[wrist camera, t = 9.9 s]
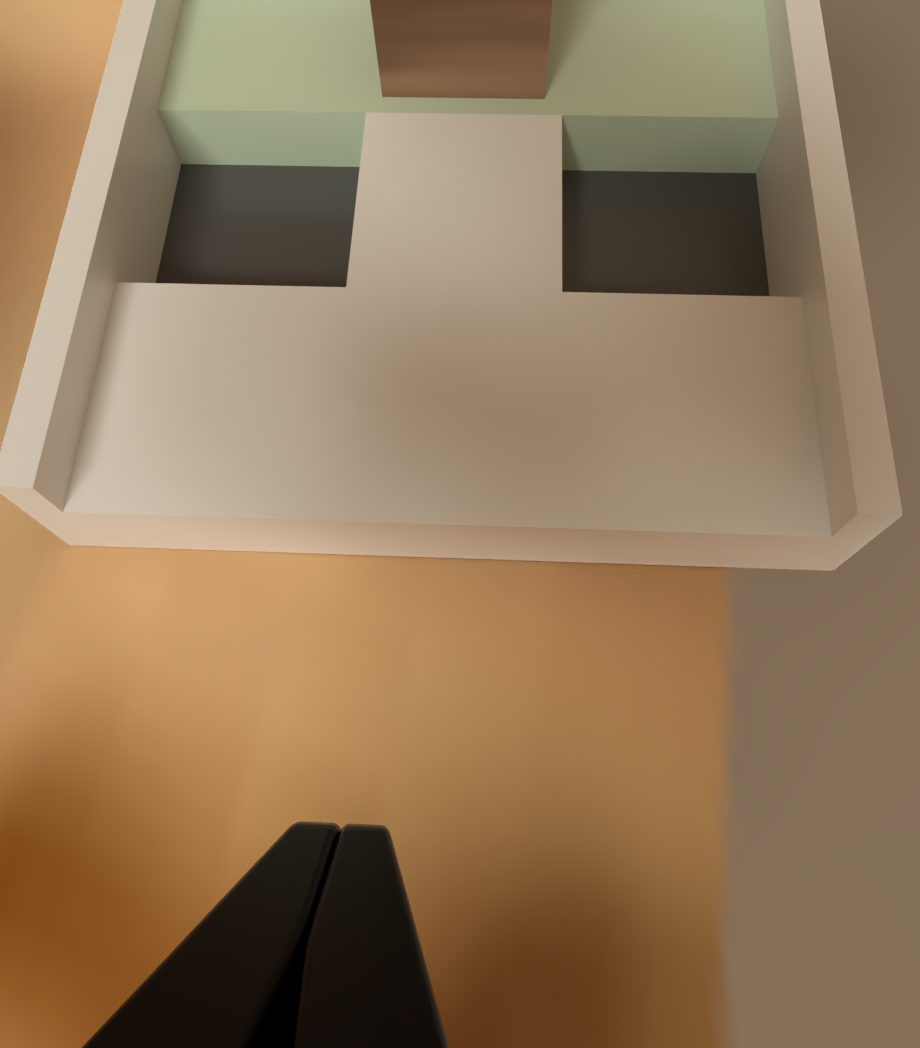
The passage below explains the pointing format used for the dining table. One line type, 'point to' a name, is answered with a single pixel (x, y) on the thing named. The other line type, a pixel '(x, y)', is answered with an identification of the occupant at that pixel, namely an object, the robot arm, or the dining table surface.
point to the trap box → (460, 299)
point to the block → (462, 48)
